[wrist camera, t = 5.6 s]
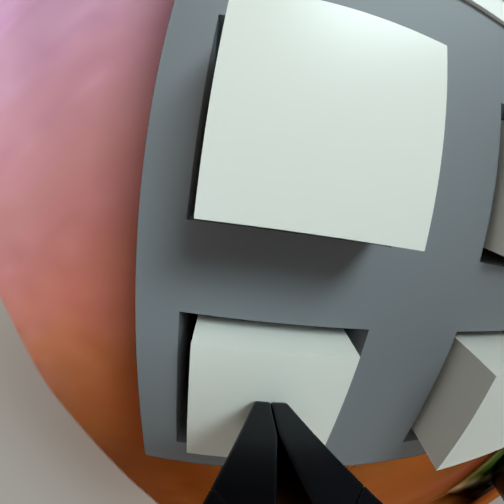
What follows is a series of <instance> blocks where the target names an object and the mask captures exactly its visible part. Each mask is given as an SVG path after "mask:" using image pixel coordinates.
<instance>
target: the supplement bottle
mask: <svg viewBox="0 0 504 504" xmlns="http://www.w3.org/2000/svg"><path fill="white" fill-rule="evenodd" d="M491 482H492V483H493V485H494V487H495V488H496V490H497V491H498V493H499V494H500V496H501V497H502V499H503V501H504V457H503V458H502V459H501V460H500V462H499V463H498V464H497V465H496V467H495V468H494V470H493V472H492V474H491Z"/></svg>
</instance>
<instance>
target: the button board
mask: <svg viewBox="0 0 504 504" xmlns="http://www.w3.org/2000/svg"><path fill="white" fill-rule="evenodd" d="M322 1H326V2H330V3H334V4H338V5H342V6H345V7H349V8H352V9H355V10H359V11H362V12H365V13H368V14H371V15H374V16H377V17H380V18H383V19H386V20H388V21H391V22H394V23H396V24H399V25H402V26H404V27H407V28H409V29H411V30H414V31H416V32H419V33H421V34H423V35H425V36H428V37H430V38H432V39H434V40H436V41H438V42H440V43H443V44H445V45H447V103H446V119H445V131H444V141H443V150H442V159H441V166H440V174H439V180H438V187H437V193H436V198H435V204H434V209H433V215H432V220H431V224H430V229H429V234H428V238H427V243H426V247H425V251H419V250H413V249H406V248H400V247H394V246H388V245H381V244H375V243H369V242H362V241H356V240H349V239H342V238H335V237H329V236H322V235H315V234H308V233H301V232H294V231H286V230H279V229H272V228H264V227H257V226H249V225H242V224H234V223H226V222H218V221H210V220H202V219H194V212H195V203H196V195H197V186H198V178H199V170H200V163H201V155H202V148H203V141H204V134H205V127H206V120H207V114H208V108H209V101H210V95H211V89H212V83H213V78H214V72H215V66H216V61H217V56H218V50H219V45H220V40H221V35H222V30H223V25H224V20H225V15H226V11H227V6H228V2H229V0H175V1H174V5H173V8H172V12H171V16H170V20H169V24H168V28H167V32H166V36H165V40H164V44H163V49H162V53H161V58H160V63H159V68H158V73H157V78H156V83H155V88H154V94H153V99H152V105H151V111H150V118H149V124H148V131H147V138H146V146H145V154H144V162H143V171H142V180H141V191H140V202H139V215H138V231H137V250H136V285H135V321H136V355H137V374H138V389H139V401H140V412H141V422H142V431H143V440H144V448H145V455H149V456H154V457H159V458H165V459H171V460H177V461H184V462H191V463H199V464H207V465H217V466H223V465H224V463H225V461H226V459H227V457H219V456H210V455H201V454H193V453H187V413H188V386H187V385H188V364H189V346H190V330H191V316H192V313H194V314H201V315H209V316H217V317H225V318H234V319H243V320H252V321H261V322H272V323H282V324H293V325H305V326H318V327H333V328H343V329H344V331H345V332H346V334H347V336H348V337H349V339H350V341H351V342H352V344H353V346H354V347H355V349H356V351H357V352H358V354H359V356H360V359H359V362H358V365H357V368H356V371H355V373H354V376H353V379H352V382H351V384H350V387H349V390H348V392H347V395H346V397H345V400H344V402H343V405H342V407H341V410H340V412H339V415H338V417H337V419H336V422H335V424H334V426H333V429H332V431H331V433H330V436H329V438H328V440H327V442H326V445H325V446H326V447H327V448H328V449H329V450H330V451H331V452H332V453H333V454H334V456H335V457H336V458H337V459H338V460H339V461H340V462H341V463H342V464H343V465H344V466H350V465H360V464H368V463H376V462H383V461H389V460H395V459H401V458H406V457H412V456H417V455H421V454H426V452H425V450H424V448H423V447H422V445H421V443H420V441H419V440H418V438H417V436H416V435H415V433H414V431H413V429H412V428H411V427H412V425H413V423H414V422H415V420H416V418H417V416H418V414H419V413H420V411H421V409H422V407H423V405H424V403H425V401H426V399H427V398H428V396H429V394H430V392H431V390H432V388H433V386H434V383H435V381H436V379H437V377H438V375H439V373H440V371H441V369H442V366H443V364H444V362H445V360H446V357H447V355H448V353H449V350H450V348H451V345H452V343H453V340H454V338H455V335H456V333H457V332H463V331H504V256H502V255H499V254H497V253H495V252H492V251H487V250H483V246H484V242H485V238H486V233H487V229H488V224H489V219H490V214H491V208H492V202H493V196H494V190H495V183H496V175H497V167H498V157H499V146H500V130H501V120H504V0H322Z"/></svg>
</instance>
